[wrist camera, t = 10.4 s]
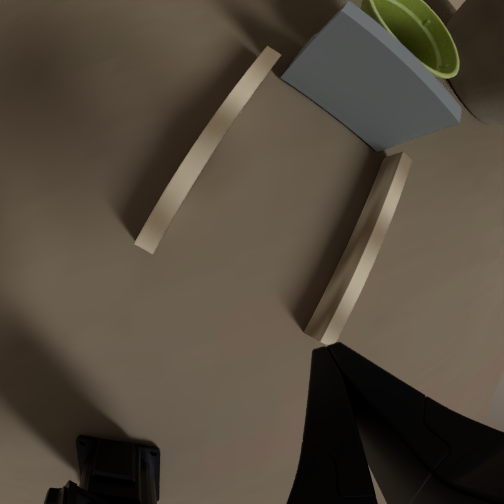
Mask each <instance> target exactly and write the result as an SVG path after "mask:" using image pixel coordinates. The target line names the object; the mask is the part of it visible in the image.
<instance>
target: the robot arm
mask: <svg viewBox="0 0 504 504" xmlns="http://www.w3.org/2000/svg"><path fill="white" fill-rule="evenodd" d="M425 397H426V396H425V395H424V394H423V393H421V392H419V391H418V390H416V389H414V388H413V387H411V386H410V385H408V384H406V383H405V382H403V381H401V380H400V379H398V378H397V377H395V376H393V375H392V374H390V373H389V372H387V371H385V370H384V369H382V368H381V367H379V366H377V365H376V364H374V363H373V362H371V361H369V360H368V359H366V358H365V357H363V356H362V355H360V354H358V353H357V352H355V351H354V350H352V349H351V348H349V347H347V346H346V345H344V344H343V343H341V342H337V343H333V344H330V345H328V346H327V347H325V346H323V347H320V348H316V349H313V351H312V359H311V370H310V381H309V390H308V400H307V409H306V417H305V425H304V433H303V442H302V447H301V454H300V459H299V464H298V469H297V473H296V476H295V480H294V483H293V487H292V489H291V492H290V495H289V498H288V501H287V503H286V504H378V503H377V499H376V495H375V491H374V486H373V483H372V479H371V475H370V471H369V467H370V469H371V471H372V473H373V475H374V477H375V479H376V481H377V484H378V486H379V488H380V490H381V492H382V494H383V496H384V498H385V500H386V502H387V504H504V432H502V431H499V430H496V429H493V428H491V427H489V426H486V425H484V424H481V423H479V422H477V421H474V420H472V419H470V418H467V417H465V416H463V415H461V414H459V413H456V412H454V411H452V410H450V409H448V408H447V407H445V406H443V405H441V404H439V403H438V402H436V401H434V400H433V399H431V398H429V397H428V396H427V397H426V398H425ZM81 441H84V442H85V443H83V442H81ZM76 446H77V454H78V461H79V467H80V473H81V480H80V485H79V486H77V484H76V483H74V482H72V481H70V480H69V481H68V482H67V484H66V485H65V486H63V488H49V490H48V492H47V494H46V498H45V501H44V504H157V501H158V500H159V480H160V449H159V448H158V447H156V446H150V445H141V444H132V443H126V442H119V441H112V440H106V439H99V438H94V437H89V436H84V435H79V436H78V437H77V439H76ZM152 451H155V452H156V453H152ZM368 465H369V467H368Z"/></svg>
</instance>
